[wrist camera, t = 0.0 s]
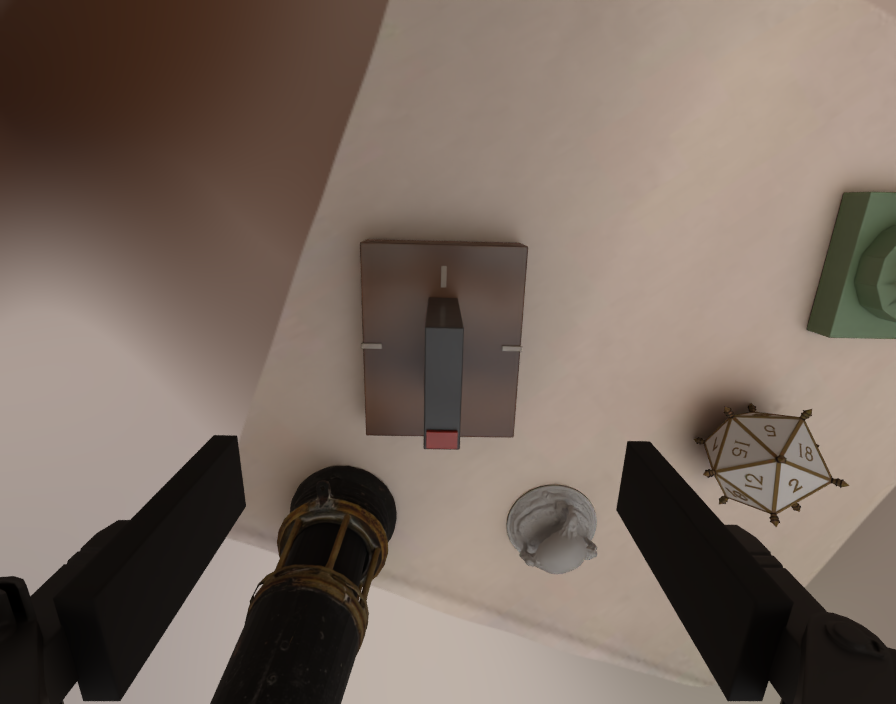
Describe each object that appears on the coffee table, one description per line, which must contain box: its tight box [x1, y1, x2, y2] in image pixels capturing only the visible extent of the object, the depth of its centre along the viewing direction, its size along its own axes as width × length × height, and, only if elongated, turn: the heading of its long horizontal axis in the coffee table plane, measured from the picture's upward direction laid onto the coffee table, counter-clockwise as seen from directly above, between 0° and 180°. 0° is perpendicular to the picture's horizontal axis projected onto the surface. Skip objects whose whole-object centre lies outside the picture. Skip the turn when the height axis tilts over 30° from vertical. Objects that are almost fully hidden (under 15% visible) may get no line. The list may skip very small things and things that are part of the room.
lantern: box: [210, 466, 397, 704], centre depth 25 cm, size 9×9×30 cm
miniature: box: [507, 485, 597, 574], centre depth 38 cm, size 8×8×5 cm
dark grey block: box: [424, 297, 464, 449], centre depth 28 cm, size 7×2×8 cm, turn 179°
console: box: [360, 239, 528, 437], centre depth 33 cm, size 14×11×3 cm
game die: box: [694, 404, 849, 527], centre depth 34 cm, size 9×8×10 cm
